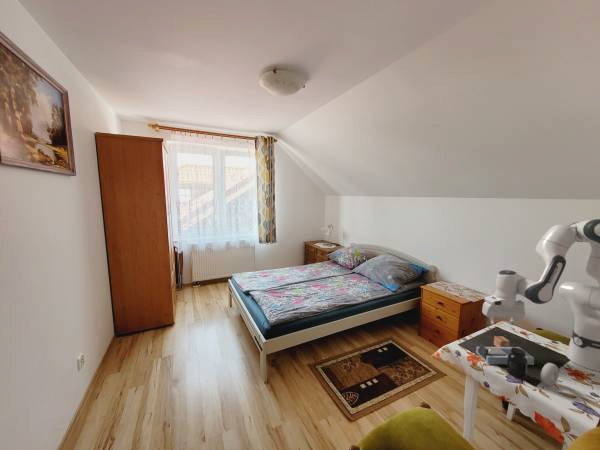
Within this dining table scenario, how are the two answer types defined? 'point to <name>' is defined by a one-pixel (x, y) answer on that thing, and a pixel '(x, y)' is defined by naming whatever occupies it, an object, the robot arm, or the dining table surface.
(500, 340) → the block
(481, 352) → the grey block
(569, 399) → the dining table surface
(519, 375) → the supplement bottle
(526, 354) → the channel
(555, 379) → the donut
